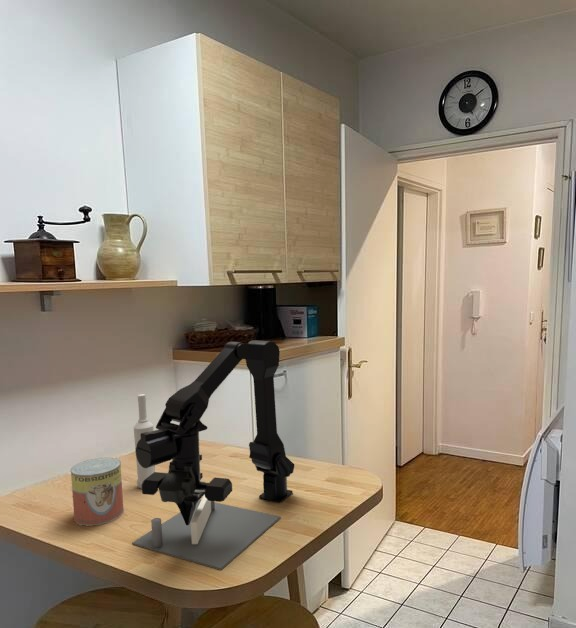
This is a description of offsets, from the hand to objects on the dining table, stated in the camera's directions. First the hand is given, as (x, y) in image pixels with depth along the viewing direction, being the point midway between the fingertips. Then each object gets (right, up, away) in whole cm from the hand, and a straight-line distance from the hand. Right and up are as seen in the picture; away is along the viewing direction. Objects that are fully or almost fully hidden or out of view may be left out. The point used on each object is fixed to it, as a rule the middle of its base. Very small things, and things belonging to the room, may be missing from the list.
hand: (188, 524), depth 110 cm
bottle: (-17, -2, +29) cm, 34 cm away
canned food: (-24, -3, +13) cm, 27 cm away
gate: (+3, -1, +4) cm, 5 cm away
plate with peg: (+4, -2, +2) cm, 5 cm away
